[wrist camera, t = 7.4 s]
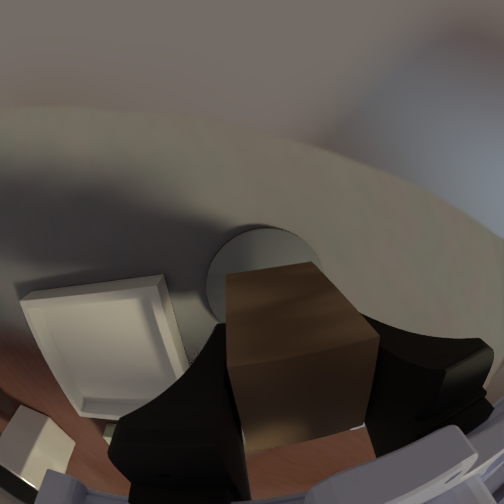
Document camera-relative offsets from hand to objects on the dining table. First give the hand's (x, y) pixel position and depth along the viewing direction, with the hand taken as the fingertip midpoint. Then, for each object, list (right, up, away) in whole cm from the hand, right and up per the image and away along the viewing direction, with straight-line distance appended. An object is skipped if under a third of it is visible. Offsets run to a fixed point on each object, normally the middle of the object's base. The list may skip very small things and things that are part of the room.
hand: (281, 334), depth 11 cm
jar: (-26, -18, +9) cm, 32 cm away
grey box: (-11, -4, +6) cm, 13 cm away
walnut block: (0, +1, +2) cm, 2 cm away
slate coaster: (0, +1, +5) cm, 6 cm away
